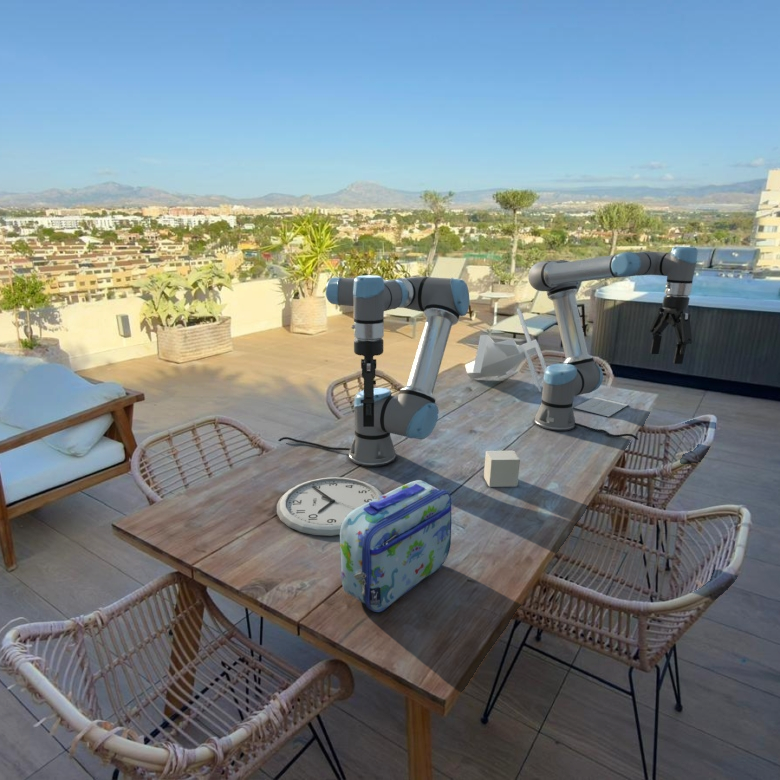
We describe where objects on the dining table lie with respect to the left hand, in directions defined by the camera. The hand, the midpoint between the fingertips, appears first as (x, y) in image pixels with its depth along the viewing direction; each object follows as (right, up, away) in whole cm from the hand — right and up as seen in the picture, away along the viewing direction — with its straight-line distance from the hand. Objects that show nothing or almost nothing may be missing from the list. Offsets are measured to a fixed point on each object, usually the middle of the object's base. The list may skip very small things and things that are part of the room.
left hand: (368, 416), depth 139 cm
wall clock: (-10, -24, +4) cm, 27 cm away
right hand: (+100, +18, +39) cm, 108 cm away
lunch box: (+7, -34, -27) cm, 44 cm away
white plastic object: (+61, +9, +115) cm, 131 cm away
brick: (+39, -21, +19) cm, 48 cm away
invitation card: (+97, 0, +87) cm, 131 cm away
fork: (+22, 0, +84) cm, 87 cm away
